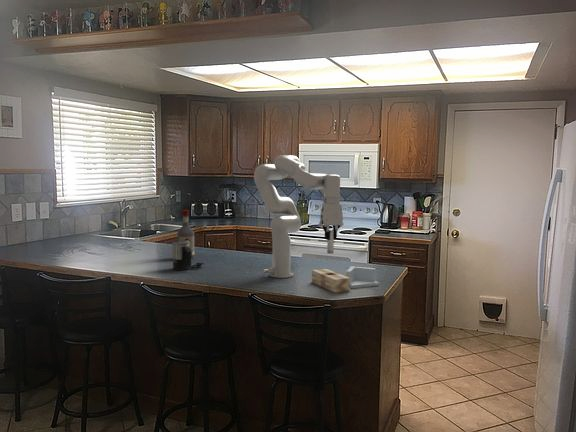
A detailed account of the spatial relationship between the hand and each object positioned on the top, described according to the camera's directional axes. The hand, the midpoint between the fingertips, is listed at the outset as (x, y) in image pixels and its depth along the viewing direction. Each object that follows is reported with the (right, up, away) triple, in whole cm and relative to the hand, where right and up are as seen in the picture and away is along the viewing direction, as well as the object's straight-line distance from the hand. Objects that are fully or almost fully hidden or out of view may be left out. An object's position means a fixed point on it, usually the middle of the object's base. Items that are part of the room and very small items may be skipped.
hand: (330, 239), depth 227 cm
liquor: (-83, -16, +68) cm, 108 cm away
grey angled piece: (+14, -22, +7) cm, 27 cm away
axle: (0, -7, +1) cm, 7 cm away
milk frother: (-76, -19, +39) cm, 87 cm away
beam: (0, -23, +2) cm, 23 cm away
